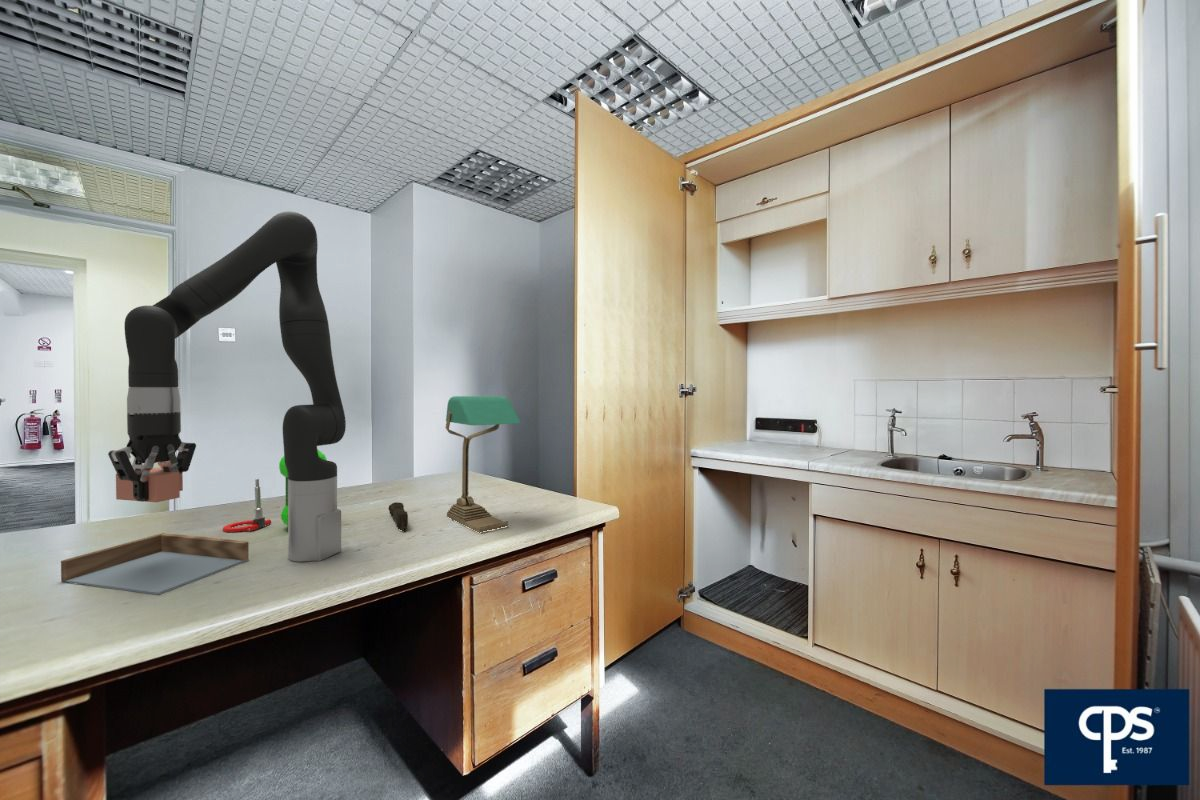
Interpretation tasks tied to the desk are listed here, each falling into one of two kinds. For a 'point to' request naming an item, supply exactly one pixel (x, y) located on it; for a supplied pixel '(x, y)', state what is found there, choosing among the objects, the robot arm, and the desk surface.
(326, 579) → the desk surface
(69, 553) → the desk surface
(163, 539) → the walnut corner walls
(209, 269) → the robot arm
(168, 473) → the bracket
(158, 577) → the rubber mat
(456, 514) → the banker's lamp
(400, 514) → the dark brown rough bar
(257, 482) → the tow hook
